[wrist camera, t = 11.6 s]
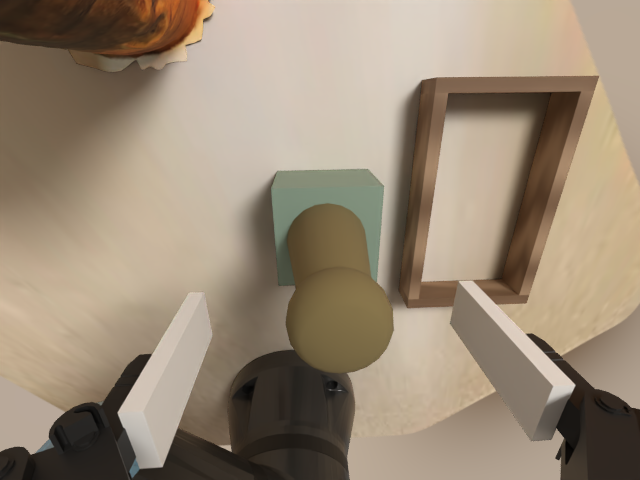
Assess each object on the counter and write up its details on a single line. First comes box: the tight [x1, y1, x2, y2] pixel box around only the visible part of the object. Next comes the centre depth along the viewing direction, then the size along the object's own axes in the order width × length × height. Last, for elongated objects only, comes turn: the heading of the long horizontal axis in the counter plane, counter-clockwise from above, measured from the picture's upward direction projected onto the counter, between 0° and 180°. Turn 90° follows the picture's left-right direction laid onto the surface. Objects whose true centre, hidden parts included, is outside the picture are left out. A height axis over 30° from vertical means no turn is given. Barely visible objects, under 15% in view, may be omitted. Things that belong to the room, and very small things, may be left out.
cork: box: [286, 203, 394, 374], centre depth 18 cm, size 6×6×11 cm
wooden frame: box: [399, 76, 599, 308], centre depth 28 cm, size 20×12×3 cm, turn 1°
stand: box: [271, 169, 384, 286], centre depth 26 cm, size 8×8×6 cm
